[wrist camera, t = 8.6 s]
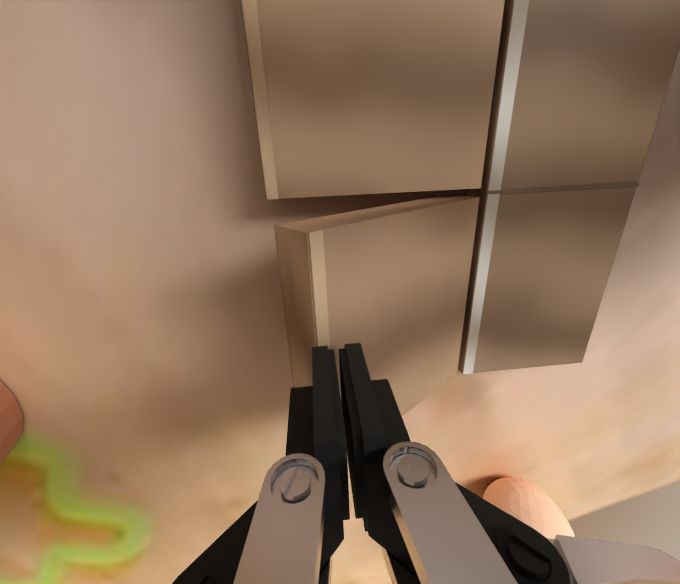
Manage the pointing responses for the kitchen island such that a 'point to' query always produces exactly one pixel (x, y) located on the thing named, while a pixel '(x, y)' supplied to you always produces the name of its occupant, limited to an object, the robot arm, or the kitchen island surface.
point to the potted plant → (9, 422)
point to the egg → (528, 506)
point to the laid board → (561, 171)
